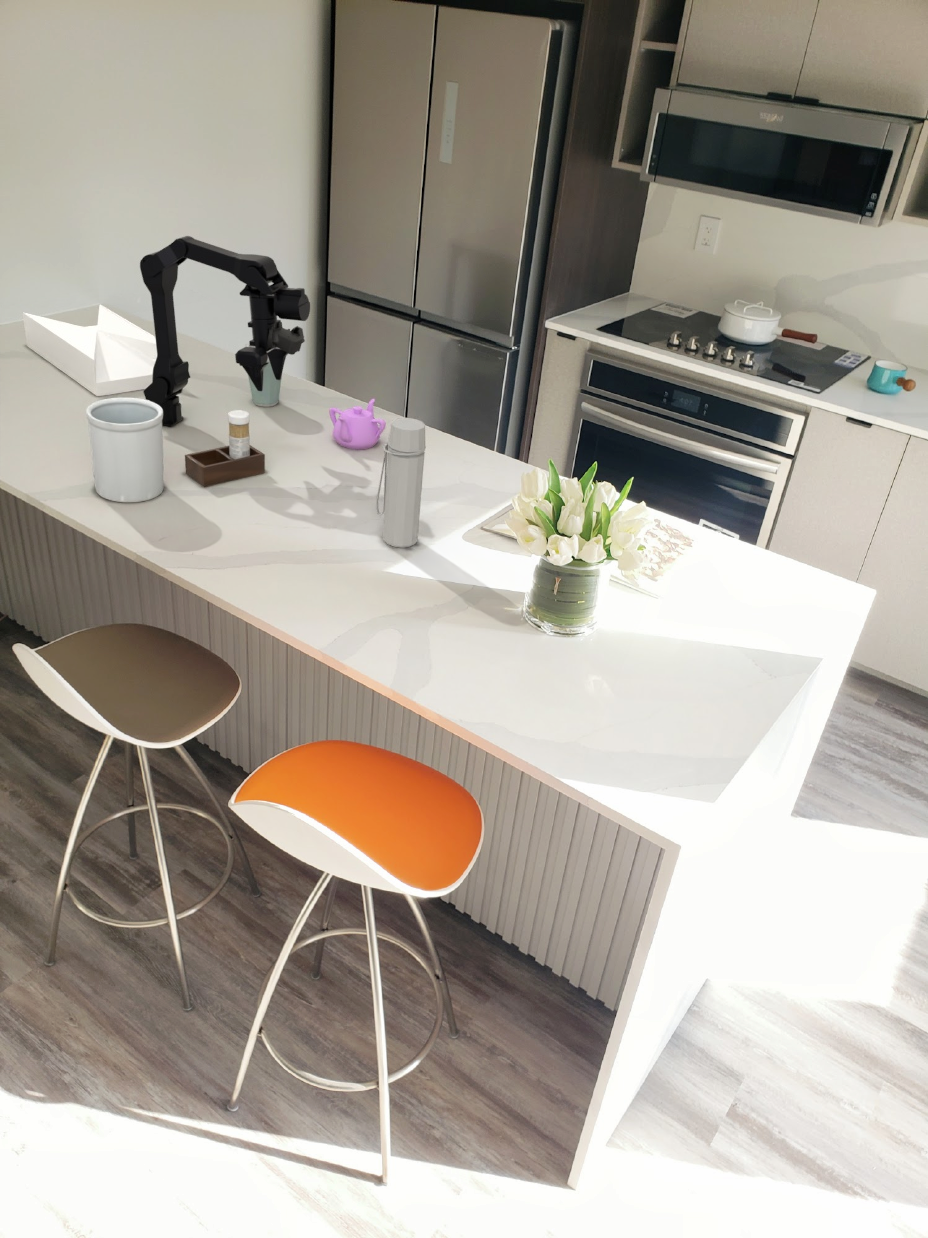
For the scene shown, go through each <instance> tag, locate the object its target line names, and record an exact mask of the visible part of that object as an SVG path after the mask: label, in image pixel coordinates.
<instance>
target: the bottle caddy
mask: <svg viewBox="0 0 928 1238" xmlns="http://www.w3.org/2000/svg"><path fill="white" fill-rule="evenodd" d="M184 465H185V475H186V476H188V477H189V478H190V479H192V480H194V481H195V482H196V483H198V484H199V485H201V487H204V488H207V487H211V486H214V485H218V484H223V483H224V484H225V483H227V482H231V481H236V480H241V479H244V478H245V479H246V478H249V477H254V476H257V475H262V474H264V473H266V454H265V453H263V452H262V451H260V450H259V449H257V448H255V447H254V446H252V445H251V444H250V456H248V457H243V458H239V459H233V458H232V457H230V452H229V445H225V446H221V447H215V448H211V449H206V450H202V451H198V452H191V453H187V454H184Z"/></svg>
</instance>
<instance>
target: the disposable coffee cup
mask: <svg viewBox="0 0 928 1238" xmlns="http://www.w3.org/2000/svg"><path fill="white" fill-rule="evenodd" d="M244 347H253V348H255V346H250V343H249V342H247V343H246V344H244ZM267 363H268V365H267V366H266V367H265V368H264V370H263V391H258V390H257V389H256V387H255V385H254V384H253V382H252V380H251V379H250V377H249V375H248V374H247V377H248V383H249V388H250V393H251V394H250V395H251V400H252V402H253V404H254V405H256V406H258V407H263V408H265V407H266V408H267V407H274V406H276V405H277V404H278V402H279V400H280V394H281V393H280V392H281V384H282V379H283V378H282V377H283V375H282V376H281V380H276V378H275V376H274V373H273V370H272V367H271V364H270V361H269V358H268V359H267Z"/></svg>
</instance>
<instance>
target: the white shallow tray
mask: <svg viewBox="0 0 928 1238" xmlns="http://www.w3.org/2000/svg"><path fill="white" fill-rule="evenodd" d="M22 321H23V328H24V335H25V343H26V347H28V348H29V349H30V350H31V351H33V352H35V353H36V354H38V356H40V357H42V358H43V359H44V360H46V361H47V362H48V363H50V364H51V365H52V366H54V367H55V368H57V369H58V370H59V371H61V372H62V373H64V374H65V375H66V376H68V377H69V378H71V379H72V380H73V381H75V382H76V383H78V384H79V385H80V386H82V387H83V388H85V389H86V390H88V391H89V392H90V393H91V394H93V395H95V396H96V397H103V396H109V395H115V394H121V393H128V392H134V391H140V390H145V389H146V388H147V387H148V386H149V385H150V384H151V383H152V377H153V367H154V364H155V361H156V358H157V348H156V338H155V335H153V334H152V333H150V332H148V331H147V330H144V329H143V328H142V327H140V326H138V325H136V324H134V323H133V322H130V321H129V320H127V319H126V318H125V317H123V316H121V315H119V314H117V313H116V312H114V311H113V310H110V309H109V308H108V307H106V306H104V305H102V304H99V308H98V317H97V324H96V325H89V326H82V325H77V324H72V323H69V322H65V321H60V320H58V319H57V320H56V319H52V318H48V317H44V316H40V315H36V314H32V313H27V312H22Z"/></svg>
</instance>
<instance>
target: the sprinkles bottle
mask: <svg viewBox="0 0 928 1238" xmlns="http://www.w3.org/2000/svg"><path fill="white" fill-rule="evenodd" d="M227 421H228V440H229V441H228V446H229V452H230V457H232V458H233V459H239V458H243V457H248V456H250V445H251V443H250V421H251V420H250V413H249V412H248V411H246V410H243V409H234V410H230V411H229V412H228V413H227Z"/></svg>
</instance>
